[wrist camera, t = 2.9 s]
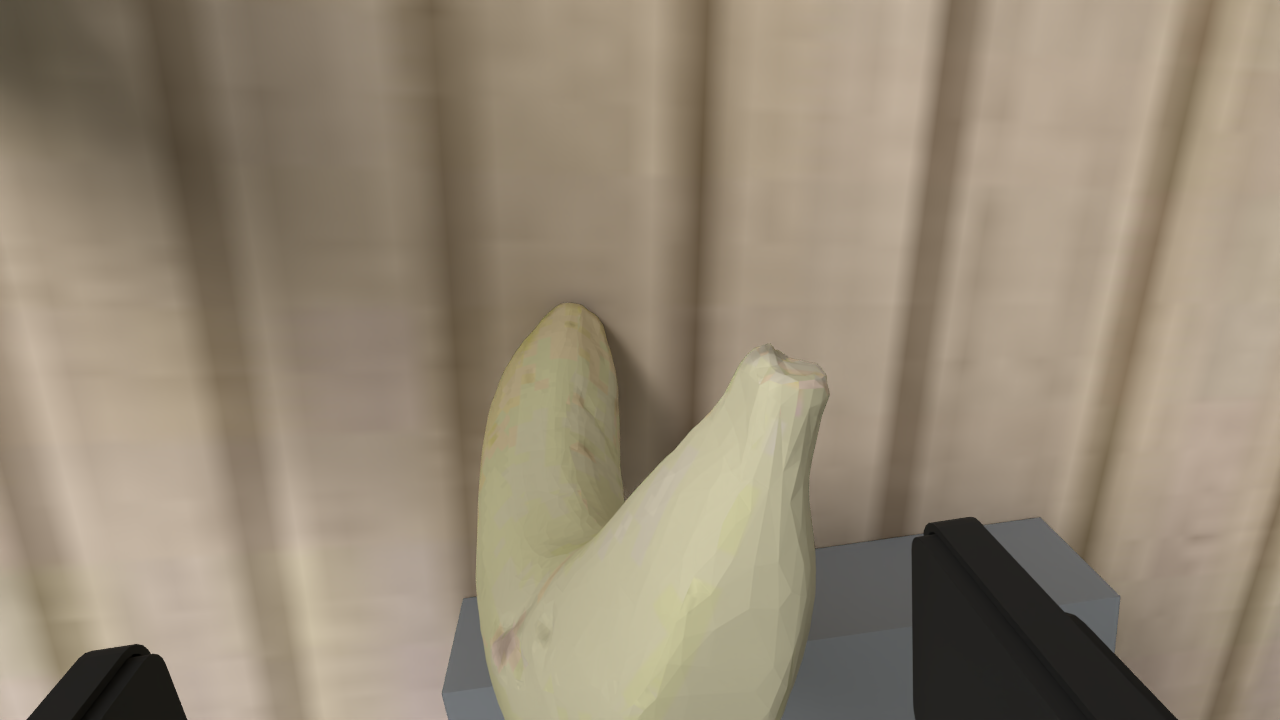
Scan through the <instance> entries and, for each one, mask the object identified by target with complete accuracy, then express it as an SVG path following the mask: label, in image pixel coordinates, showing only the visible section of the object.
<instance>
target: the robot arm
mask: <svg viewBox="0 0 1280 720" xmlns="http://www.w3.org/2000/svg"><path fill="white" fill-rule="evenodd" d="M911 555H912V650H913V709H914V715H915V720H1178V719H1177V718H1176V717H1175V716H1174V715H1173V714H1172V713H1171V712H1170V711H1169V710H1168V709H1167V708H1166V707H1165V706H1164V705H1163V704H1162V703H1161V702H1160V701H1159V700H1158V699H1157V698H1156V697H1155V695H1154V694H1153V693H1152V692H1151V691H1150V690H1149V689H1148V688H1147V687H1146V686H1145V685H1144V684H1143V683H1142V682H1141V681H1140V680H1139V679H1138V678H1137V677H1136V676H1135V675H1134V674H1133V673H1132V671H1131V670H1130V669H1129V668H1128V667H1127V666H1126V665H1125V664H1124V663H1123V662H1122V661H1121V660H1120V659H1119V658H1118V657H1117V656H1116V655H1115V654H1114V653H1113V652H1112V651H1111V650H1110V649H1109V647H1108V646H1107V645H1106V644H1105V643H1104V642H1103V641H1102V640H1101V639H1100V638H1099V637H1098V636H1097V635H1096V634H1095V633H1094V632H1093V631H1092V630H1091V629H1090V628H1089V627H1088V626H1087V625H1086V623H1084V622H1083V621H1082V620H1081V619H1079V618H1078V617H1077V616H1076V615H1073V614H1070V613H1067V612H1064V611H1063V610H1062V609H1061V608H1060V607H1059V606H1058V604H1057V603H1056V602H1055V601H1054V600H1053V599H1052V598H1051V597H1050V596H1049V595H1048V594H1047V593H1046V592H1045V591H1044V590H1043V589H1042V587H1041V586H1040V585H1039V584H1038V583H1037V582H1036V581H1035V580H1034V579H1033V578H1032V577H1031V576H1030V575H1029V574H1028V573H1027V571H1026V570H1025V569H1024V568H1023V567H1022V566H1021V565H1020V564H1019V563H1018V562H1017V561H1016V560H1015V559H1014V558H1013V557H1012V556H1011V554H1010V553H1009V552H1008V551H1007V550H1006V549H1005V548H1004V547H1003V546H1002V545H1001V544H1000V543H999V542H998V541H997V540H996V538H995V537H994V536H993V535H992V534H991V533H990V532H989V531H988V530H987V529H986V528H985V527H984V526H983V525H982V524H981V523H980V521H978V520H977V519H976V518H974V517H966V518H959V519H953V520H946V521H940V522H933V523H928V524H927V525H926V527H925V530H924V536H919V537H915V538H914V539H913V541H912V548H911ZM27 720H187V718H186V715H185V713H184V710H183V708H182V705H181V702H180V700H179V697H178V695H177V692H176V689H175V687H174V684H173V682H172V679H171V677H170V674H169V671H168V669H167V666H166V664H165V662H164V660H163V658H162V657H161V656H159V655H157V654H150V652H149V650H148V649H147V648H146V647H144V646H143V645H139V644H134V645H127V646H121V647H114V648H108V649H101V650H95V651H90V652H87V653H85V654H84V655H82V656H81V657H80V658H79V659H78V660H77V661H76V662H75V663H74V665H73V666H72V667H71V668H70V669H69V671H68V672H67V673H66V674H65V675H64V676H63V678H62V679H61V680H60V681H59V682H58V683H57V685H56V686H55V687H54V688H53V689H52V690H51V692H50V693H49V694H48V695H47V696H46V698H45V699H44V700H43V701H42V702H41V703H40V705H39V706H38V707H37V708H36V709H35V710H34V712H33V713H32V714H31V715H30V716H29V717H28V719H27Z"/></svg>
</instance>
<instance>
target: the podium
mask: <svg viewBox="0 0 1280 720" xmlns="http://www.w3.org/2000/svg"><path fill="white" fill-rule="evenodd" d="M983 526H984V527H985V528H986V529H987V530H988V531H989V532H990V533H991V534H992V535H993V536H994V537H995V538H996V540H997V541H998V542H999V543H1000V544H1001V545H1002V546H1003V547H1004V548H1005V549H1006V550H1007V551H1008V552H1009V553H1010V554H1011V556H1012V557H1013V558H1014V559H1015V560H1016V561H1017V562H1018V563H1019V564H1020V565H1021V566H1022V567H1023V568H1024V569H1025V570H1026V571H1027V573H1028V574H1029V575H1030V576H1031V577H1032V578H1033V579H1034V580H1035V581H1036V582H1037V583H1038V584H1039V585H1040V586H1041V587H1042V589H1043V590H1044V591H1045V592H1046V593H1047V594H1048V595H1049V596H1050V597H1051V598H1052V599H1053V600H1054V601H1055V602H1056V603H1057V604H1058V606H1059V607H1060V608H1061V609H1062V610H1063V611H1064V612H1067V613H1070V614H1073V615H1076V616H1077V617H1078V618H1079V619H1081V620H1082V621H1083V622H1084V623H1086V625H1087V626H1088V627H1089V628H1090V629H1091V630H1092V631H1093V632H1094V633H1095V634H1096V635H1097V636H1098V637H1099V638H1100V639H1101V640H1102V641H1103V642H1104V643H1105V644H1106V645H1107V646H1108V647H1109V649H1110V650H1111V651H1112V652H1113V653H1115V643H1116V634H1117V624H1118V614H1119V605H1120V596H1119V595H1118V594H1117V593H1116V592H1115V591H1114V590H1113V589H1112V588H1111V587H1110V586H1109V585H1108V584H1107V583H1106V582H1105V581H1104V580H1103V579H1102V578H1101V577H1100V576H1099V575H1098V574H1097V573H1096V572H1095V571H1094V570H1093V569H1092V568H1091V567H1090V566H1089V565H1088V564H1087V563H1086V562H1085V561H1084V560H1083V559H1082V558H1081V557H1080V556H1079V555H1078V554H1077V553H1076V552H1075V551H1074V550H1073V549H1072V548H1071V547H1070V546H1069V545H1068V544H1067V543H1066V542H1065V541H1064V540H1063V539H1062V538H1061V537H1060V536H1059V535H1058V534H1057V533H1055V532H1054V531H1053V530H1052V529H1051V528H1050V527H1049V526H1048V525H1047V524H1046V523H1045V522H1044V521H1043V520H1042V519H1041V518H1040V517H1039V518H1032V519H1025V520H1017V521H1010V522H1003V523H996V524H989V525H983ZM919 536H924V534H918V535H911V536H904V537H897V538H890V539H883V540H876V541H868V542H861V543H854V544H847V545H840V546H833V547H826V548H819V549H815V557H816V590H815V599H814V606H813V612H812V619H811V625H810V631H809V635H808V639H807V643H806V647H805V651H804V655H803V659H802V662H801V665H800V668H799V671H798V674H797V677H796V680H795V683H794V686H793V688H792V691H791V693H790V695H789V698H788V701H787V704H786V708H785V711H784V713H783V716H782V718H781V720H915V715H914V709H913V650H912V555H911V548H912V541H913V539H914V538H915V537H919ZM442 697H443V701H444V705H445V709H446V712H447V716H448V720H505V719H504V716H503V713H502V711H501V709H500V706H499V704H498V701H497V698H496V695H495V692H494V689H493V685H492V682H491V679H490V675H489V671H488V666H487V662H486V657H485V650H484V644H483V638H482V634H481V630H480V618H479V610H478V603H477V597H471V598H464V599H463V602H462V606H461V610H460V615H459V619H458V624H457V628H456V633H455V637H454V641H453V646H452V650H451V655H450V659H449V663H448V668H447V672H446V677H445V681H444V685H443V690H442Z"/></svg>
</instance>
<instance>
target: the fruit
mask: <svg viewBox="0 0 1280 720" xmlns="http://www.w3.org/2000/svg"><path fill="white" fill-rule="evenodd" d="M829 395H830V394H829V388H828V385H827V378H826V374H825V373H824V371H823V370H822V368H821V367H820V366H819V365H818V364H816V363H812V362H807V361H803V360H798V359H792V358H789V357H787V356H786V355H785V354H783V353H782V352H780V351H779V350H775V349H774V348H773V346H772V345H771V343H770V344H766V345H763V346H759V347H756V348H754V349H753V350H752V351H751V352H750V353H748V354H747V355H746V357H745V358H744V359H743V361H742V362H741V363H740V365H739V366H738V368H737V370H736V372H735V374H734V376H733V378H732V380H731V382H730V384H729V386H728V388H727V390H726V392H725V394H724V395H723V397H722V398H721V399H720V400H719V402H718V403H717V404H716V405H715V407H714V408H713V409H712V411H711V412H710V413H709V414H708V415H707V416H706V417H705V418H704V419H703V420H702V421H701V422H700V423H699V424H698V425H696V426H695V427H694V428H693V429H692V430H691V431H690V432H689V433H688V435H687V436H686V437H685V438H684V439H683V440H682V442H681V443H680V444H679V445H678V446H677V448H676V449H675V450H674V451H673V452H671V453H670V454H669V455H668V456H667V457H666V458H665V459H664V460H663V461H662V462H661V463H660V464H659V465H658V466H657V467H656V468H655V469H654V470H653V471H652V472H651V473H650V474H649V476H648V477H647V478H646V479H645V480H644V481H643V482H642V483H641V484H640V485H639V486H638V487H637V488H636V490H635V491H634V492H633V493H632V494H631V496H630V497H629V498H628V499H627V500H626V501H624V495H623V483H622V477H621V468H620V416H619V405H618V384H617V377H616V371H615V366H614V362H613V358H612V354H611V351H610V348H609V345H608V342H607V338H606V334H605V330H604V327H603V325H602V323H601V322H600V320H599V318H598V317H597V316H596V315H595V314H593V313H591V312H590V311H588V310H587V309H586V308H585V307H584V306H582V305H580V304H575V303H562V304H560V305H558V306H557V307H555V308H554V309H553V310H551V311H550V312H549V313H548V314H547V315H546V316H545V317H544V318H543V319H542V320H541V321H540V323H539V324H538V326H537V327H536V328H535V329H534V331H533V332H532V333H531V334H530V335H529V336H528V337H527V338H526V339H525V340H524V342H523V343H522V344H521V346H520V347H519V348H518V350H517V351H516V352H515V354H514V356H513V357H512V359H511V361H510V362H509V364H508V365H507V367H506V369H505V370H504V372H503V375H502V377H501V380H500V382H499V384H498V388H497V391H496V393H495V396H494V398H493V401H492V404H491V407H490V411H489V414H488V420H487V425H486V430H485V436H484V442H483V449H482V457H481V469H480V482H479V495H478V525H477V551H476V559H477V560H476V590H477V603H478V610H479V618H480V630H481V634H482V638H483V644H484V650H485V657H486V662H487V666H488V671H489V675H490V679H491V682H492V685H493V689H494V692H495V695H496V698H497V701H498V704H499V706H500V709H501V711H502V713H503V716H504V719H505V720H781V718H782V716H783V713H784V711H785V708H786V704H787V701H788V698H789V695H790V693H791V691H792V688H793V686H794V683H795V680H796V677H797V674H798V671H799V668H800V665H801V662H802V659H803V655H804V651H805V647H806V643H807V639H808V635H809V631H810V625H811V619H812V612H813V606H814V599H815V590H816V557H815V545H814V537H813V528H812V520H811V512H810V504H809V475H810V469H811V462H812V457H813V453H814V448H815V444H816V439H817V435H818V431H819V426H820V422H821V417H822V414H823V411H824V409H825V406H826V403H827V401H828V398H829Z"/></svg>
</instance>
